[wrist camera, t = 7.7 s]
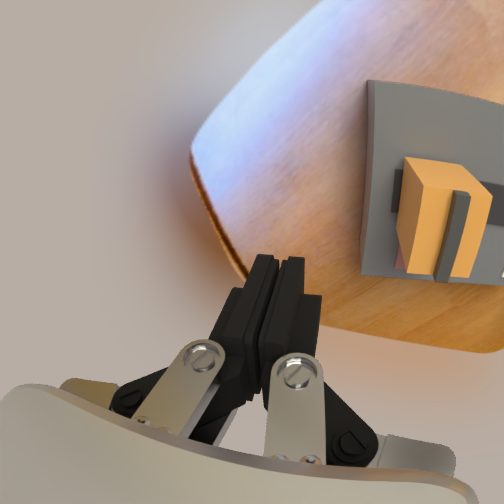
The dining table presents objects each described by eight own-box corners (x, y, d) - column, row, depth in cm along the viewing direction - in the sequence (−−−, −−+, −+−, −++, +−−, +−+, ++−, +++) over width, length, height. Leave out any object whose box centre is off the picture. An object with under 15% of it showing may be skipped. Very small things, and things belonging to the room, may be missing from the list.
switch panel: (551, 121, 14) (584, 137, 10) (519, 256, 22) (539, 289, 17) (367, 79, 19) (375, 81, 15) (359, 241, 26) (360, 276, 22)
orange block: (461, 164, 15) (497, 201, 11) (447, 233, 18) (471, 284, 13) (404, 156, 16) (426, 190, 12) (395, 228, 19) (408, 279, 15)
